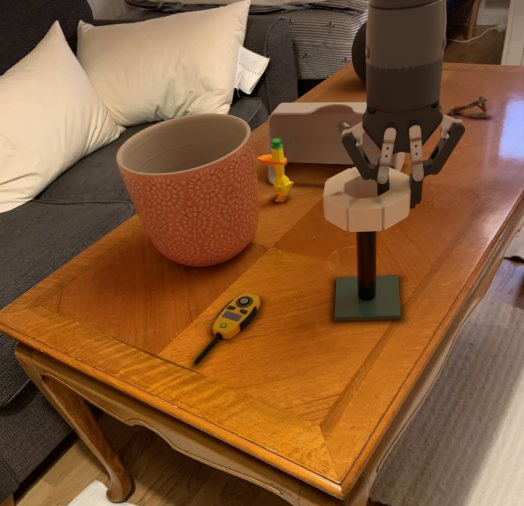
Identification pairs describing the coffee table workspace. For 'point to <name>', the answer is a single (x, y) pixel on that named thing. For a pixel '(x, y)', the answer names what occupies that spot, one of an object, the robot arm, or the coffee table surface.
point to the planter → (194, 186)
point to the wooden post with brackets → (471, 105)
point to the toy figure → (278, 169)
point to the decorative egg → (359, 52)
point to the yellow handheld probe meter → (233, 319)
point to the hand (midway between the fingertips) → (398, 205)
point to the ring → (365, 201)
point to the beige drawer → (319, 133)
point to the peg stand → (367, 287)
